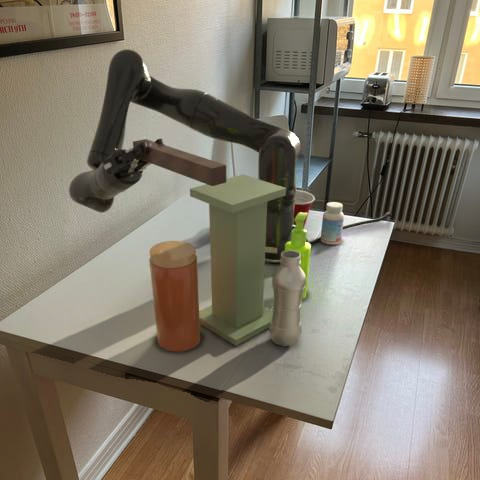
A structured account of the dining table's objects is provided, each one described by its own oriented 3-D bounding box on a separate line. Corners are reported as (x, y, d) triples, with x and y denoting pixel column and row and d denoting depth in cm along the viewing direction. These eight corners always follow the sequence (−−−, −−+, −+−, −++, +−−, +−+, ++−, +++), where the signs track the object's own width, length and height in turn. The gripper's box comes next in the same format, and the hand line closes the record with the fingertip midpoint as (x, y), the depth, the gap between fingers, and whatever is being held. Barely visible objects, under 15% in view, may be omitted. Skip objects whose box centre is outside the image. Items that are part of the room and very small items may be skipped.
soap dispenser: (309, 289, 122) (316, 212, 111) (303, 302, 116) (310, 223, 105) (286, 285, 123) (291, 209, 113) (279, 298, 118) (284, 219, 107)
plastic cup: (302, 242, 145) (305, 203, 139) (270, 234, 150) (271, 196, 144) (317, 230, 153) (321, 193, 147) (286, 223, 158) (288, 186, 151)
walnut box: (134, 157, 97) (132, 141, 95) (147, 154, 99) (146, 138, 97) (212, 186, 82) (211, 168, 80) (226, 182, 84) (226, 164, 82)
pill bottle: (340, 246, 144) (345, 209, 138) (319, 244, 145) (323, 207, 139) (341, 237, 149) (345, 202, 143) (321, 236, 150) (324, 200, 144)
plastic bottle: (266, 332, 106) (270, 247, 95) (297, 331, 106) (305, 246, 95) (270, 350, 100) (275, 262, 89) (303, 349, 101) (311, 261, 90)
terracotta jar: (194, 324, 108) (190, 237, 97) (205, 347, 101) (201, 256, 90) (154, 331, 106) (145, 243, 95) (162, 355, 99) (152, 263, 88)
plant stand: (193, 319, 110) (186, 187, 94) (238, 297, 118) (239, 173, 102) (235, 346, 102) (236, 206, 85) (281, 321, 110) (290, 189, 93)
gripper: (82, 162, 102) (114, 130, 88) (139, 150, 110) (177, 120, 96) (95, 196, 103) (129, 171, 90) (151, 183, 112) (190, 158, 98)
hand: (154, 145), depth 93 cm, fingers closed on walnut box, 3 cm apart
